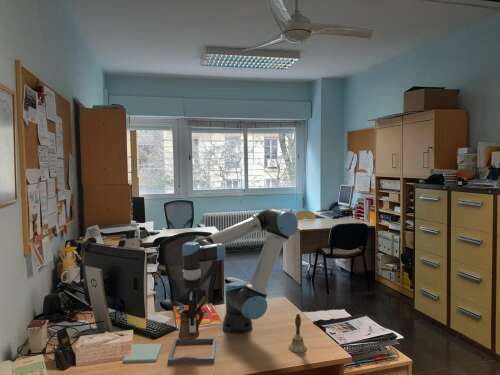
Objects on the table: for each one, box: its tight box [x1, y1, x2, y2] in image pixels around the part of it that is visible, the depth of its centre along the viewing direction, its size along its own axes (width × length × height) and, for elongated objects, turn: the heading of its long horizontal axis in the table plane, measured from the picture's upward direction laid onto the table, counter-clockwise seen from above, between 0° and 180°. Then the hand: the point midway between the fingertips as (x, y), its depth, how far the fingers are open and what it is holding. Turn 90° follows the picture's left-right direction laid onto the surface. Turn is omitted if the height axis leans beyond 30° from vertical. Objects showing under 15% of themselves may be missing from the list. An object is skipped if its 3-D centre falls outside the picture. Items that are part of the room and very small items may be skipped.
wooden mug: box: [178, 294, 209, 341], centre depth 173 cm, size 9×14×18 cm, turn 102°
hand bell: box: [288, 313, 307, 354], centre depth 176 cm, size 8×8×16 cm
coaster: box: [122, 343, 163, 363], centre depth 173 cm, size 14×14×1 cm
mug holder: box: [167, 337, 217, 365], centre depth 174 cm, size 19×19×2 cm
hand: (193, 327), depth 173 cm, fingers closed on wooden mug, 7 cm apart
